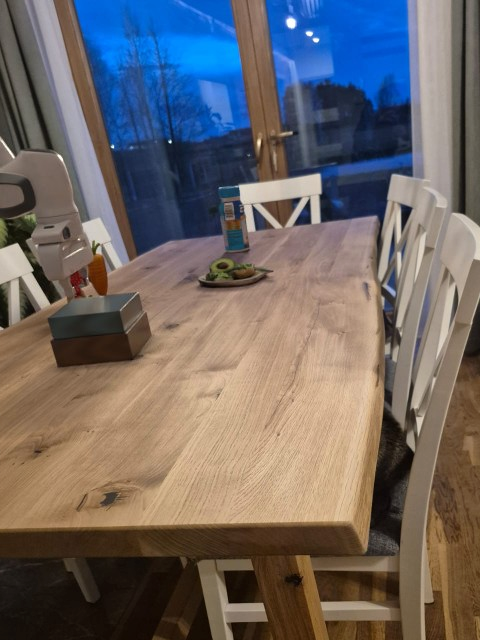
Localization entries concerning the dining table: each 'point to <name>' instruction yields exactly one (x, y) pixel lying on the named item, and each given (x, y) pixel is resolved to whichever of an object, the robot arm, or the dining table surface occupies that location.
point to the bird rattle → (76, 286)
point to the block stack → (99, 329)
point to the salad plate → (232, 274)
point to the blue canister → (233, 220)
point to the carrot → (98, 272)
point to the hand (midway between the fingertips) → (78, 290)
